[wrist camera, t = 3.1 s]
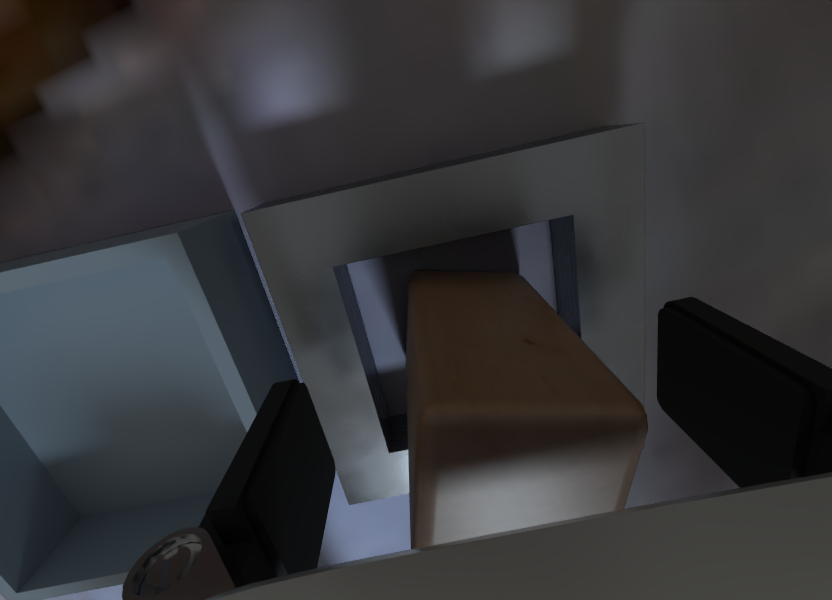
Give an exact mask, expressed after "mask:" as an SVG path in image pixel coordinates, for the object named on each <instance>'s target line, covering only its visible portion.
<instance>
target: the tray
mask: <svg viewBox="0 0 832 600" xmlns="http://www.w3.org/2000/svg"><path fill="white" fill-rule="evenodd" d="M292 379H297V376H296V373H295V371H294V368H293V365H292V363H291V360H290V358H289V355H288V352H287V350H286V347H285V344H284V342H283V339H282V336H281V334H280V331H279V328H278V326H277V323H276V320H275V318H274V315H273V312H272V310H271V307H270V304H269V302H268V299H267V296H266V294H265V291H264V289H263V286H262V283H261V281H260V278H259V275H258V273H257V270H256V267H255V265H254V262H253V259H252V257H251V254H250V251H249V249H248V246H247V243H246V241H245V238H244V235H243V233H242V230H241V227H240V225H239V222H238V220H237V217H236V214H235V212H234V210H233V211H229V212H224V213H220V214H215V215H211V216H206V217H202V218H198V219H193V220H189V221H184V222H180V223H175V224H171V225H167V226H162V227H158V228H153V229H149V230H144V231H140V232H136V233H131V234H127V235H122V236H118V237H113V238H109V239H105V240H100V241H96V242H91V243H87V244H82V245H78V246H74V247H69V248H65V249H60V250H56V251H51V252H47V253H43V254H38V255H34V256H29V257H25V258H20V259H16V260H12V261H7V262H3V263H0V593H1V595H2V596H3V597H4V598H5V599H6V600H41V599H46V598H51V597H56V596H62V595H67V594H72V593H78V592H83V591H88V590H94V589H99V588H104V587H109V586H115V585H120V584H124V582H125V579H126V577H127V575H128V573H129V571H130V570H131V569H132V567H133V566H134V564H135V563H136V561H137V560H138V559H139V558H140V557H141V556H142V555H143V554H144V553H145V552H146V551H147V550H148V549H149V548H150V547H152V546H153V545H154V544H155V543H157V542H158V541H159V540H161V539H162V538H164V537H166V536H168V535H169V534H171V533H173V532H175V531H178V530H181V529H183V528H188V527H199V525H200V523H201V521H202V519H203V517H204V515H205V514H206V512H205V511H206V509H207V507H208V506H209V504H210V502H211V500H212V498H213V496H214V494H215V492H216V490H217V489H218V487H219V485H220V483H221V481H222V479H223V477H224V475H225V473H226V472H227V470H228V468H229V466H230V464H231V462H232V460H233V458H234V456H235V455H236V453H237V451H238V449H239V447H240V445H241V443H242V441H243V439H244V438H245V436H246V434H247V432H248V430H249V428H250V426H251V424H252V422H253V421H254V419H255V417H256V415H257V413H258V411H259V409H260V407H261V405H262V404H263V402H264V400H265V398H266V396H267V394H268V392H269V390H270V388H271V387H272V385H273V384H274V383H277V382H282V381H287V380H292ZM297 380H298V379H297ZM298 382H299V381H298Z"/></svg>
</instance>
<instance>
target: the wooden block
mask: <svg viewBox="0 0 832 600" xmlns="http://www.w3.org/2000/svg"><path fill="white" fill-rule="evenodd" d="M406 392H407V427H408V462H409V497H410V532H411V549H416V548H421V547H426V546H431V545H437V544H442V543H447V542H452V541H457V540H463V539H468V538H473V537H478V536H483V535H489V534H494V533H499V532H504V531H510V530H515V529H520V528H526V527H531V526H536V525H542V524H547V523H552V522H558V521H563V520H568V519H574V518H579V517H585V516H590V515H595V514H601V513H606V512H612V511H617V510H622V509H624V506H625V503H626V500H627V497H628V493H629V490H630V487H631V483H632V480H633V477H634V474H635V470H636V467H637V464H638V460H639V457H640V454H641V451H642V447H643V444H644V441H645V437H646V434H647V431H648V423H647V415H646V412H645V410H644V407H643V405H642V403H641V402H640V401H639V400H638V399H637V398H636V397H635V396H634V395H633V394H632V393H631V392H630V391H629V390H628V389H627V387H626V386H625V385H624V384H623V383H622V382H621V381H620V380H619V379H618V378H617V377H616V376H615V375H614V374H613V372H612V371H611V370H610V369H609V368H608V367H607V366H606V365H605V364H604V363H603V362H602V361H601V360H600V359H599V357H598V356H597V355H596V354H595V353H594V352H593V351H592V350H591V349H590V348H589V347H588V346H587V345H586V344H585V343H584V341H583V340H582V339H581V338H580V337H579V336H578V335H577V334H576V333H575V332H574V331H573V330H572V329H571V328H570V326H569V325H568V324H567V323H566V322H565V321H564V320H563V319H562V318H561V317H560V316H559V315H558V314H557V313H556V312H555V310H554V309H553V308H552V307H551V306H550V305H549V304H548V303H547V302H546V301H545V300H544V299H543V298H542V297H541V295H540V294H539V293H538V292H537V291H536V290H535V289H534V288H533V287H532V286H531V285H530V284H529V283H528V282H527V281H526V279H525V278H524V277H523V276H521V275H519V274H516V273H504V272H462V271H418V272H415V273H412V275H411V277H410V279H409V281H408V308H407V339H406Z"/></svg>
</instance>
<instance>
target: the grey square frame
mask: <svg viewBox="0 0 832 600" xmlns="http://www.w3.org/2000/svg"><path fill="white" fill-rule="evenodd" d="M241 215H242V218H243V221H244V223H245V226H246V229H247V232H248V234H249V237H250V240H251V242H252V245H253V248H254V250H255V253H256V256H257V258H258V261H259V264H260V266H261V269H262V272H263V275H264V277H265V280H266V283H267V285H268V288H269V291H270V293H271V296H272V299H273V301H274V304H275V307H276V310H277V312H278V315H279V318H280V320H281V323H282V326H283V328H284V331H285V334H286V336H287V339H288V342H289V345H290V347H291V350H292V353H293V355H294V358H295V361H296V363H297V366H298V369H299V371H300V374H301V377H302V379H303V382H304V383H305V384H306V386H307V388H308V391H309V393H310V396H311V399H312V401H313V404H314V407H315V410H316V412H317V415H318V418H319V420H320V423H321V426H322V428H323V431H324V434H325V437H326V439H327V442H328V445H329V447H330V450H331V453H332V455H333V458H334V462H335V468H336V471H337V474H338V476H339V479H340V482H341V484H342V487H343V490H344V492H345V495H346V498H347V501H348V503H349V505H351V504H357V503H362V502H367V501H372V500H377V499H383V498H388V497H393V496H398V495H403V494H409V462H408V427H407V414H404V415H399V416H394V417H390V415H389V411H388V408H387V404H386V401H385V397H384V394H383V391H382V387H381V384H380V380H379V377H378V373H377V370H376V366H375V363H374V359H373V356H372V352H371V349H370V345H369V342H368V338H367V335H366V332H365V328H364V325H363V321H362V318H361V314H360V311H359V307H358V304H357V300H356V297H355V293H354V290H353V286H352V283H351V279H350V276H349V273H348V269H347V266H346V264H348V263H353V262H358V261H362V260H367V259H371V258H376V257H381V256H385V255H390V254H394V253H399V252H404V251H408V250H413V249H417V248H422V247H427V246H431V245H436V244H440V243H445V242H450V241H454V240H459V239H463V238H468V237H473V236H477V235H482V234H486V233H491V232H496V231H500V230H505V229H509V228H514V227H519V226H523V225H528V224H532V223H537V222H542V221H546V220H550V226H551V237H552V248H553V260H554V271H555V283H556V294H557V305H558V315H559V316H560V317H561V318H562V319H563V320H564V321H565V322H566V323H567V324H568V325H569V326H570V328H571V329H572V330H573V331H574V332H575V333H576V334H577V335H578V336H579V337H580V338H581V339H582V340H583V341H584V343H585V344H586V345H587V346H588V347H589V348H590V349H591V350H592V351H593V352H594V353H595V354H596V355H597V356H598V357H599V359H600V360H601V361H602V362H603V363H604V364H605V365H606V366H607V367H608V368H609V369H610V370H611V371H612V372H613V374H614V375H615V376H616V377H617V378H618V379H619V380H620V381H621V382H622V383H623V384H624V385H625V386H626V387H627V389H628V390H629V391H630V392H631V393H632V394H633V395H634V396H635V397H636V398H637V399H638V400H639V401H640V402H641V403H642V405H643V407H644V123H635V124H624V125H613V126H605V127H601V128H596V129H592V130H587V131H583V132H579V133H574V134H570V135H565V136H561V137H556V138H552V139H548V140H543V141H539V142H534V143H530V144H525V145H521V146H517V147H512V148H508V149H503V150H499V151H494V152H490V153H486V154H481V155H477V156H472V157H468V158H463V159H459V160H455V161H450V162H446V163H441V164H437V165H432V166H428V167H423V168H419V169H415V170H410V171H406V172H401V173H397V174H392V175H388V176H384V177H379V178H375V179H370V180H366V181H361V182H357V183H353V184H348V185H344V186H339V187H335V188H330V189H326V190H322V191H317V192H313V193H308V194H304V195H299V196H295V197H291V198H286V199H282V200H277V201H273V202H268V203H264V204H262V205H259V206H257V207H255V208H252V209H250V210H248V211H246V212H243V213H241ZM643 448H644V444H643V447H642V449H643Z"/></svg>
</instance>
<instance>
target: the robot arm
mask: <svg viewBox="0 0 832 600" xmlns="http://www.w3.org/2000/svg"><path fill="white" fill-rule="evenodd" d="M657 399H658V402H659V404H660V406H661V408H662V409H663V410H664V412H665V413H666V414H667V415H668V416H669V417H670V418H671V419H672V420H673V421H674V422H675V423H676V424H677V425H678V426H679V427H680V428H681V429H682V430H683V431H684V432H685V433H686V434H687V435H688V436H689V437H690V438H691V439H692V440H693V441H694V442H695V443H696V444H697V445H698V446H699V447H700V448H701V449H702V450H703V451H704V452H705V453H706V454H707V455H708V456H709V457H710V458H711V459H712V460H713V461H714V462H715V463H716V464H717V465H718V466H719V467H720V468H721V469H722V470H723V471H724V472H725V473H726V474H727V475H728V476H729V477H730V478H731V479H732V480H733V481H734V482H735V483H736V484H737V485H738V486H739V487H740V488H738V489H733V490H727V491H721V492H716V493H710V494H705V495H699V496H694V497H688V498H683V499H677V500H672V501H666V502H661V503H655V504H649V505H644V506H638V507H633V508H628V509H622V510H617V511H612V512H606V513H601V514H595V515H590V516H585V517H579V518H574V519H568V520H563V521H558V522H552V523H547V524H542V525H536V526H531V527H526V528H520V529H515V530H510V531H504V532H499V533H494V534H489V535H483V536H478V537H473V538H468V539H463V540H457V541H452V542H447V543H442V544H437V545H431V546H426V547H421V548H416V549H411V550H406V551H400V552H395V553H390V554H385V555H380V556H374V557H369V558H364V559H359V560H354V561H350V562H345V563H340V564H335V565H330V566H325V567H320V568H317V565H318V560H319V555H320V550H321V545H322V539H323V534H324V529H325V524H326V519H327V514H328V509H329V504H330V498H331V493H332V488H333V483H334V478H335V462H334V458H333V455H332V453H331V450H330V447H329V445H328V442H327V439H326V437H325V434H324V431H323V428H322V426H321V423H320V420H319V418H318V415H317V412H316V410H315V407H314V404H313V401H312V399H311V396H310V393H309V391H308V388H307V386H306V384H305V383H299V382H298V380H297V379H292V380H287V381H282V382H277V383H274V384H273V385H272V387H271V388H270V390H269V392H268V394H267V396H266V398H265V400H264V402H263V404H262V405H261V407H260V409H259V411H258V413H257V415H256V417H255V419H254V421H253V422H252V424H251V426H250V428H249V430H248V432H247V434H246V436H245V438H244V439H243V441H242V443H241V445H240V447H239V449H238V451H237V453H236V455H235V456H234V458H233V460H232V462H231V464H230V466H229V468H228V470H227V472H226V473H225V475H224V477H223V479H222V481H221V483H220V485H219V487H218V489H217V490H216V492H215V494H214V496H213V498H212V500H211V502H210V504H209V506H208V507H207V509H206V511H205V512H206V514H205V515H204V517H203V519H202V521H201V523H200V525H199V527H188V528H183V529H181V530H178V531H175V532H173V533H171V534H169V535H168V536H166V537H164V538H162V539H161V540H159V541H158V542H157V543H155V544H154V545H153V546H152V547H150V548H149V549H148V550H147V551H146V552H145V553H144V554H143V555H142V556H141V557H140V558H139V559H138V560H137V561H136V563H135V564H134V566H133V567H132V569H131V570H130V571H129V573H128V575H127V577H126V579H125V582H124V584H123V591H122V599H123V600H832V369H831V368H829V367H827V366H825V365H823V364H822V363H820V362H818V361H816V360H814V359H812V358H810V357H808V356H806V355H804V354H802V353H800V352H798V351H796V350H795V349H793V348H791V347H789V346H787V345H785V344H783V343H781V342H779V341H777V340H775V339H773V338H771V337H769V336H768V335H766V334H764V333H762V332H760V331H758V330H756V329H754V328H752V327H750V326H748V325H746V324H744V323H742V322H740V321H739V320H737V319H735V318H733V317H731V316H729V315H727V314H725V313H723V312H721V311H719V310H717V309H715V308H713V307H712V306H710V305H708V304H706V303H704V302H702V301H700V300H698V299H696V298H693V297H688V298H684V299H679V300H674V301H669V302H667V303H666V304H665V305H664V308H663V309H660V310H659V313H658V356H657Z"/></svg>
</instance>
